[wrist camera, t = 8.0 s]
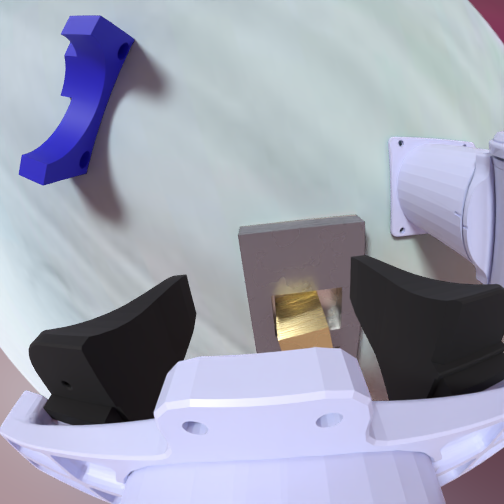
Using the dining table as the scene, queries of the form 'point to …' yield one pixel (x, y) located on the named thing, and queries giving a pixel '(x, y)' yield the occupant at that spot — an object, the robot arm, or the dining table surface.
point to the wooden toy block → (301, 322)
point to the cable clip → (80, 98)
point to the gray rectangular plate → (302, 273)
